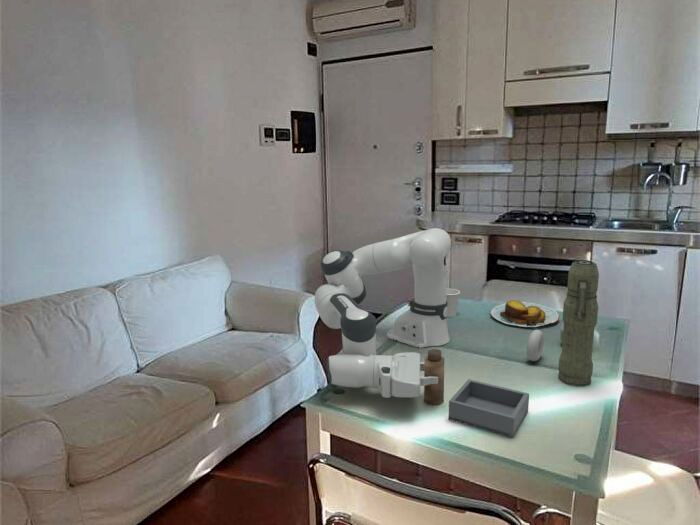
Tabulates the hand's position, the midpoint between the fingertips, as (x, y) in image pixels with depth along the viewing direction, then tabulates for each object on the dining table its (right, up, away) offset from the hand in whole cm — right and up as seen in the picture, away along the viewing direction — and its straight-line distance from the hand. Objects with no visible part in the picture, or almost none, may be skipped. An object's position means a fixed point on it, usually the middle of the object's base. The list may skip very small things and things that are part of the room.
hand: (437, 374), depth 132 cm
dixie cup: (+17, +8, +70) cm, 72 cm away
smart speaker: (+53, +1, +35) cm, 63 cm away
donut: (+35, -2, +25) cm, 43 cm away
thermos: (+42, -4, +12) cm, 44 cm away
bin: (+12, -9, -6) cm, 16 cm away
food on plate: (+45, +7, +64) cm, 79 cm away
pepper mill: (-1, -7, +2) cm, 8 cm away
